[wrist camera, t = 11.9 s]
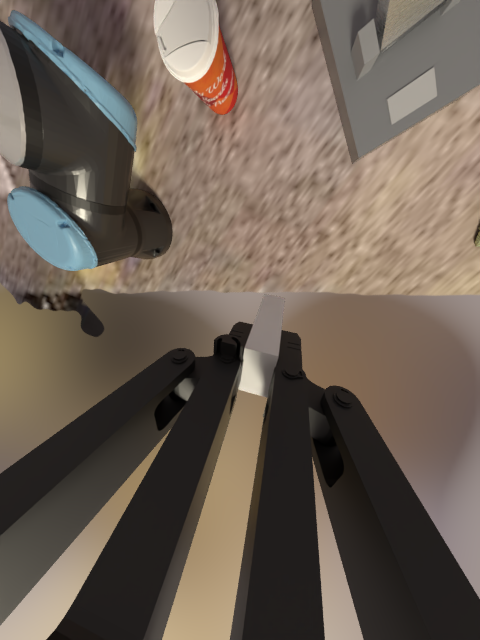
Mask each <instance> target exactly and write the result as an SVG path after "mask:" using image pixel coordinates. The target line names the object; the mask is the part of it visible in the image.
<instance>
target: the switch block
mask: <svg viewBox="0 0 480 640" xmlns="http://www.w3.org/2000/svg"><path fill="white" fill-rule="evenodd" d="M377 5H378V0H312V9H313V13H314V17H315V21H316V25H317V29H318V32H319V36H320V40H321V44H322V48H323V52H324V56H325V60H326V64H327V68H328V71H329V75H330V79H331V83H332V87H333V91H334V95H335V99H336V103H337V107H338V110H339V114H340V118H341V122H342V126H343V130H344V134H345V138H346V142H347V146H348V149H349V153H350V157H351V161H352V164H353V163H354V162H356V161H358V160H359V159H361V158H363V157H364V156H366V155H368V154H369V153H371V152H373V151H374V150H376V149H378V148H379V147H381V146H382V145H384V144H386V143H387V142H389V141H391V140H392V139H394V138H396V137H397V136H399V135H401V134H402V133H404V132H406V131H407V130H409V129H410V128H412V127H414V126H415V125H417V124H419V123H420V122H422V121H424V120H425V119H427V118H429V117H430V116H432V115H433V114H435V113H437V112H438V111H440V110H442V109H443V108H445V107H447V106H448V105H450V104H452V103H453V102H455V101H457V100H458V99H460V98H461V97H463V96H464V95H466V94H467V93H469V92H470V91H472V90H473V89H474V88H476V87H477V86H479V85H480V0H447V1H446V3H445V4H444V6H443V7H441V8H440V9H439V10H438V11H436V12H435V13H434V14H433V15H431V16H430V17H429V18H427V19H426V20H425V21H424V22H422V23H421V24H420V25H418V26H417V27H416V28H415V29H413V30H412V31H411V32H410V33H408V34H407V35H406V36H404V37H403V38H402V39H401V40H399V41H398V42H397V43H395V44H394V45H393V46H392V47H390V48H389V49H388V50H387V51H385V52H384V53H383V54H381V55H380V56H379V57H378V55H379V53H380V50H379V45H378V39H377V34H376V28H375V19H376V12H377ZM377 57H378V58H377Z"/></svg>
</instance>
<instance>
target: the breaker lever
mask: <svg viewBox="0 0 480 640" xmlns="http://www.w3.org/2000/svg"><path fill="white" fill-rule="evenodd" d="M446 1H447V0H378V5H377V12H376V19H375V28H376V34H377V39H378V45H379V50H380V53H379V55H378V57H379V56H380V55H381V54H383V53H384V52H385V51H387V50H388V49H389V48H390V47H392V46H393V45H394V44H395V43H397V42H398V41H399V40H401V39H402V38H403V37H404V36H406V35H407V34H408V33H410V32H411V31H412V30H413V29H415V28H416V27H417V26H418V25H420V24H421V23H422V22H424V21H425V20H426V19H427V18H429V17H430V16H431V15H433V14H434V13H435V12H436V11H438V10H439V9H440V8H441V7H443V6H444V4H445V3H446ZM378 57H377V58H378Z"/></svg>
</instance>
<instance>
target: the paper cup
mask: <svg viewBox="0 0 480 640" xmlns="http://www.w3.org/2000/svg"><path fill="white" fill-rule="evenodd" d="M218 16H219V13H218V8H217V4H216V1H215V0H155V6H154V29H155V34H156V36H157V41H158V46H159V50H160V54H161V57H162V59H163V61H164V64H165V65H166V67H167V69H168V70H169V72H170V73H171V74H172V75H173V76H174V77H175V78H176V79H178V80H179V81H182V82H184V83H185V84H186V85H187V86H188V87H189V88H190V89H191V90H192V91H193V92H194V93H195V94H196V95H197V96H198V97H199V98H200V99H201V100H202V101H203V102H204V103H205V104H206V105H207V106H209V107H210V108H211V109H212V110H213V111H214V112H215V113H217V114H220V115H223V114H227V113H228V112H230V111H231V110H232V108H233V107H234V105H235V103H236V100H237V95H238V85H237V80H236V76H235V73H234V70H233V67H232V63H231V60H230V57H229V54H228V51H227V48H226V45H225V42H224V39H223V36H222V33H221V30H220V27H219V24H218Z"/></svg>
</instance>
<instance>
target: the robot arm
mask: <svg viewBox="0 0 480 640" xmlns="http://www.w3.org/2000/svg"><path fill="white" fill-rule="evenodd" d="M8 22H9V25H10V27H11V28H10V27H9V26H7V25H6V24H4V23H3V22H1V21H0V154H1V155H2V156H3V157H4V158H5V159H6V160H8V161H9V162H10V163H11V164H13V165H16V166H19V167H23V168H27V169H29V178H30V187H26V186H25V187H24V186H22V187H19V188H15V189H13V190H12V191H11V193H9V195H8V199H7V202H8V209H9V212H10V215H11V218H12V220H13V222H14V224H15V226H16V228H17V229H18V231H19V232H20V234H21V235H22V237H23V238H24V239H25V241H26V242H27V243H28V244H29V245H30V246H31V248H32V249H33V250H34V251H35V252H36V253H37V254H39V255H40V256H41V257H42V258H43V259H45V260H46V261H48V262H49V263H51V264H52V265H54V266H56V267H58V268H61V269H64V270H69V271H77V270H82V269H87V268H88V269H92V268H95V267H98V266H101V265H104V264H108V263H111V262H115V261H118V260H121V259H125V258H128V257H135V258H141V259H154V258H157V257H160V256H162V255H163V254H165V253H166V252H167V250H168V249H169V247H170V245H171V241H172V225H171V221H170V218H169V215H168V213H167V211H166V209H165V208H164V206H163V205H162V204H161V202H160V201H159V200H158V199H157V198H156V197H155V196H153V195H152V194H150V193H148V192H146V191H143V190H138V189H129V187H130V180H131V173H132V165H133V158H134V151H135V152H136V145H135V141H136V131H137V118H136V114H135V112H134V110H133V108H132V106H131V105H130V103H129V102H128V101H127V100H126V99H125V97H124V96H123V95H121V94H120V93H119V92H118V91H117V90H116V89H115V88H114V87H113V86H112V85H111V84H109V83H108V82H107V81H106V80H105V79H104V78H103V77H101V76H100V75H99V74H98V73H97V72H96V71H94V70H93V69H92V68H91V67H90V66H89V65H87V64H86V63H85V62H84V61H83V60H81V59H80V58H79V57H78V56H76V55H75V54H74V53H73V52H71V51H70V50H69V49H67V48H66V47H63V45H62V44H61V43H60V42H58V41H57V40H56V39H54V38H53V37H52V36H51V35H50V34H49V33H47V32H46V31H45V30H44V29H42V28H41V27H40V26H38V25H37V24H36V23H34V22H33V21H32V20H30V19H29V18H28V17H26V16H25V15H23V14H21V13H20V12H18V11H15V10H12V11H11V15H10V17H8ZM284 302H285V298H283V297H278V296H273V295H267V294H264V296H263V299H262V302H261V305H260V308H259V310H258V313H257V315H256V319H255V321H254V324H247V323H243V322H238V323H236V324H235V325H234V326H233V328H232V330H231V331H230V333H229V335H228V334H226V335H221V336H218V337H217V338H216V339H215V340H214V355H213V356H209V357H195V355H194V353H193V352H192V351H191V350H189V349H186V348H178V349H174V350H172V351H170V352H168V353H167V354H165V355H164V356H163V357H161V358H160V359H158V360H157V361H155V362H154V363H153V364H151V365H150V366H149V367H147V368H146V369H144V370H143V371H142V372H140V373H139V374H137V375H136V376H135V377H133V378H132V379H131V380H130V381H128V382H127V383H125V384H124V385H122V386H121V387H119V388H118V389H117V390H115V391H114V392H113V393H112V394H110V395H108V396H107V397H106V398H104V399H103V400H102V401H100V402H99V403H97V404H96V405H95V406H93V407H92V408H90V409H89V410H88V411H86V412H85V413H84V414H82V415H81V416H79V417H78V418H77V419H75V420H74V421H73V422H71V423H70V424H68V425H67V426H66V427H64V428H63V429H61V430H60V431H59V432H57V433H56V434H54V435H53V436H52V437H50V438H49V439H48V440H46V441H45V442H44V443H42V444H41V445H39V446H38V447H37V448H35V449H34V450H32V451H31V452H30V453H28V454H27V455H25V456H24V457H23V458H21V459H20V460H19V461H17V462H16V463H14V464H13V465H12V466H10V467H9V468H8V469H6V470H5V471H3V472H2V473H1V474H0V625H1V624H2V623H3V622H4V621H5V619H6V618H7V617H8V616H9V615H10V614H11V613H12V611H13V610H14V609H15V608H16V607H17V606H18V604H19V603H20V602H21V601H22V600H23V598H25V596H26V595H27V594H28V593H29V592H30V591H31V589H32V588H33V587H34V586H35V585H36V584H37V582H38V581H39V580H40V579H41V578H42V577H43V575H44V574H45V573H46V572H47V571H48V570H49V569H50V567H51V566H52V565H53V564H54V563H55V562H56V561H57V559H58V558H59V557H60V556H61V555H62V553H63V552H64V551H65V550H66V549H67V548H68V547H69V546H70V544H71V543H72V542H73V541H74V540H75V539H76V537H77V536H78V535H79V534H80V533H81V532H82V531H83V529H84V528H85V527H86V526H87V525H88V524H89V522H90V521H91V520H92V519H93V518H94V517H95V515H96V514H97V513H98V512H99V511H100V510H101V508H102V507H103V506H104V505H105V504H106V503H107V502H108V501H109V499H110V498H111V497H112V496H113V495H114V493H115V492H116V491H117V490H118V489H119V488H120V487H121V486H122V484H123V483H124V482H125V481H126V480H127V478H128V477H129V476H130V475H131V474H132V473H133V472H134V470H135V469H136V468H137V467H138V466H139V465H140V464H141V462H142V461H143V460H144V459H145V458H146V457H147V456H148V454H149V453H150V452H151V451H152V450H153V449H154V447H155V446H156V445H157V444H158V443H159V442H160V440H161V439H162V438H163V437H164V436H165V435H166V434H167V432H168V431H169V430H170V429H171V428H172V429H171V431H170V432H169V434H168V436H167V438H166V440H165V441H164V443H163V445H162V446H161V448H160V450H159V452H158V454H157V455H156V457H155V459H154V461H153V462H152V464H151V466H150V468H149V469H148V471H147V473H146V475H145V476H144V478H143V480H142V482H141V484H140V485H139V487H138V489H137V491H136V492H135V494H134V496H133V498H132V500H131V501H130V503H129V505H128V507H127V508H126V510H125V512H124V514H123V515H122V517H121V519H120V521H119V522H118V524H117V526H116V528H115V530H114V531H113V533H112V535H111V537H110V539H109V540H108V542H107V544H106V545H105V547H104V549H103V551H102V552H101V554H100V556H99V558H98V560H97V561H96V563H95V565H94V567H93V568H92V570H91V572H90V574H89V576H88V577H87V579H86V581H85V583H84V584H83V586H82V588H81V590H80V591H79V593H78V595H77V597H76V599H75V600H74V602H73V604H72V605H71V607H70V609H69V610H68V612H67V613H66V615H65V617H64V618H63V620H62V621H61V622H60V624H59V625H58V627H57V628H56V629H55V631H54V632H53V633H52V634H51V635H50V636H49V637H48V638H47V639H46V640H162V637H163V634H164V630H165V627H166V624H167V621H168V618H169V615H170V611H171V608H172V605H173V602H174V598H175V595H176V592H177V589H178V585H179V582H180V579H181V576H182V572H183V569H184V566H185V563H186V559H187V556H188V553H189V550H190V547H191V543H192V540H193V537H194V533H195V531H196V527H197V524H198V521H199V518H200V514H201V511H202V508H203V505H204V501H205V498H206V495H207V492H208V488H209V485H210V482H211V479H212V476H213V472H214V469H215V466H216V462H217V459H218V456H219V453H220V450H221V446H222V443H223V440H224V437H225V433H226V430H227V427H228V424H229V420H230V417H231V414H232V411H233V408H234V404H235V401H236V396H237V391H238V388H239V390H242V391H246V392H249V393H253V394H256V395H260V396H264V397H268V399H267V403H266V407H265V411H264V414H263V417H264V419H263V426H262V433H261V440H260V446H259V453H258V459H257V465H256V472H255V479H254V485H253V492H252V498H251V505H250V511H249V518H248V525H247V531H246V537H245V544H244V550H243V558H242V564H241V571H240V577H239V583H238V590H237V596H236V603H235V610H234V616H233V622H232V630H231V636H230V640H325V636H324V622H323V607H322V593H321V579H320V564H319V550H318V536H317V522H316V507H315V493H314V479H313V464H312V457H313V461H314V465H315V468H316V472H317V475H318V479H319V482H320V486H321V489H322V493H323V496H324V500H325V503H326V507H327V510H328V514H329V518H330V521H331V525H332V528H333V532H334V535H335V539H336V543H337V546H338V550H339V553H340V557H341V560H342V564H343V568H344V571H345V575H346V578H347V582H348V585H349V589H350V592H351V596H352V599H353V603H354V607H355V610H356V613H357V617H358V621H359V624H360V628H361V631H362V635H363V638H364V640H480V599H479V597H478V596H477V594H476V592H475V591H474V589H473V587H472V586H471V584H470V583H469V581H468V579H467V577H466V576H465V574H464V573H463V571H462V569H461V568H460V566H459V564H458V563H457V561H456V559H455V558H454V556H453V554H452V553H451V551H450V549H449V548H448V546H447V544H446V543H445V541H444V539H443V538H442V536H441V535H440V533H439V531H438V530H437V528H436V526H435V525H434V523H433V521H432V520H431V518H430V516H429V515H428V513H427V511H426V510H425V509H424V506H423V505H422V503H421V502H420V500H419V498H418V497H417V495H416V493H415V492H414V490H413V489H412V487H411V485H410V483H409V482H408V480H407V478H406V477H405V475H404V473H403V472H402V470H401V469H400V467H399V465H398V464H397V462H396V460H395V459H394V457H393V456H392V454H391V452H390V451H389V449H388V447H387V445H386V444H385V442H384V440H383V439H382V437H381V436H380V434H379V433H378V431H377V429H376V427H375V426H374V424H373V423H372V421H371V419H370V417H369V416H368V414H367V412H366V411H365V409H364V407H363V406H362V404H361V403H360V401H359V400H358V398H357V397H356V396H355V395H354V394H353V393H352V392H350V391H349V390H347V389H345V388H343V387H340V386H329V387H328V388H326V390H325V389H323V388H321V387H319V386H317V385H315V384H314V383H312V382H311V381H309V380H308V379H307V377H306V374H305V372H304V371H303V370H302V355H301V339H300V337H299V336H298V334H297V333H292V332H288V331H283V330H281V329H282V321H283V311H284Z"/></svg>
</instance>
